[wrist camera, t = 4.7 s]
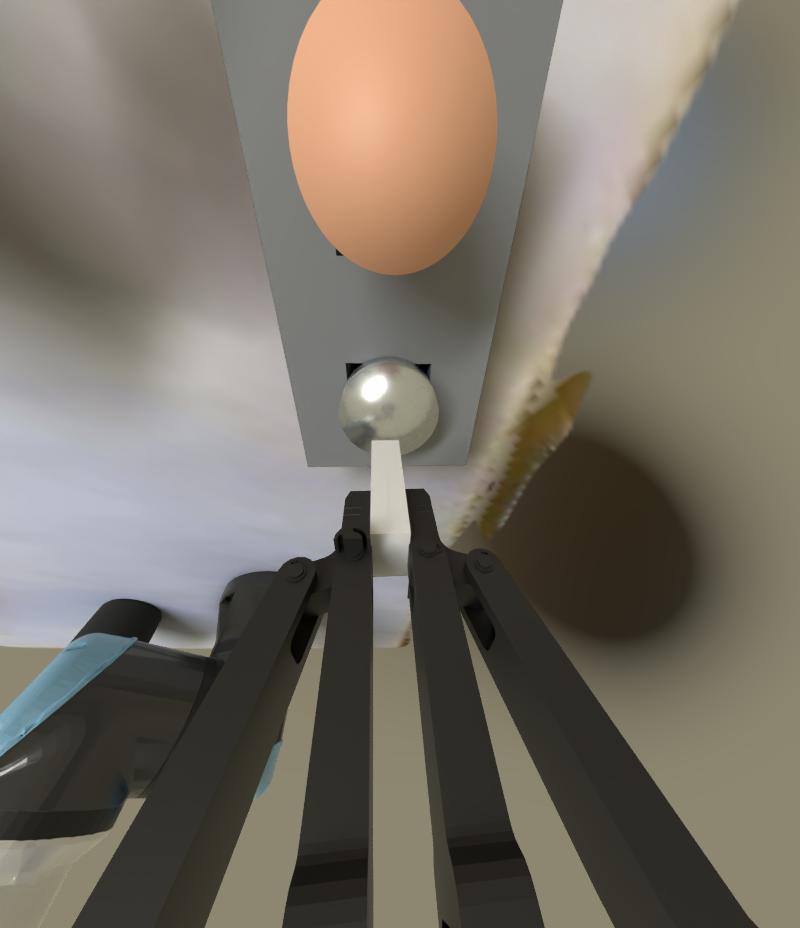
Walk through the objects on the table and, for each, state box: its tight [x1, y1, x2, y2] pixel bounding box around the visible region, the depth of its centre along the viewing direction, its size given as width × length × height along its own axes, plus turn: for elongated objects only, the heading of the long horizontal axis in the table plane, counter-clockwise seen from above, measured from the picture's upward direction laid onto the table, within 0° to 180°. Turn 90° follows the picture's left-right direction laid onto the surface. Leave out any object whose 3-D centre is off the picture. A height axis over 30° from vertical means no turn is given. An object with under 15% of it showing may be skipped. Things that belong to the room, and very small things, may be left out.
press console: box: [211, 0, 563, 467], centre depth 20 cm, size 24×14×6 cm, turn 178°
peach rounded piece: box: [287, 0, 497, 275], centre depth 12 cm, size 7×7×7 cm
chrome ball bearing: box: [339, 356, 439, 455], centre depth 23 cm, size 7×7×7 cm
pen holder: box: [71, 599, 161, 643], centre depth 44 cm, size 9×9×10 cm
